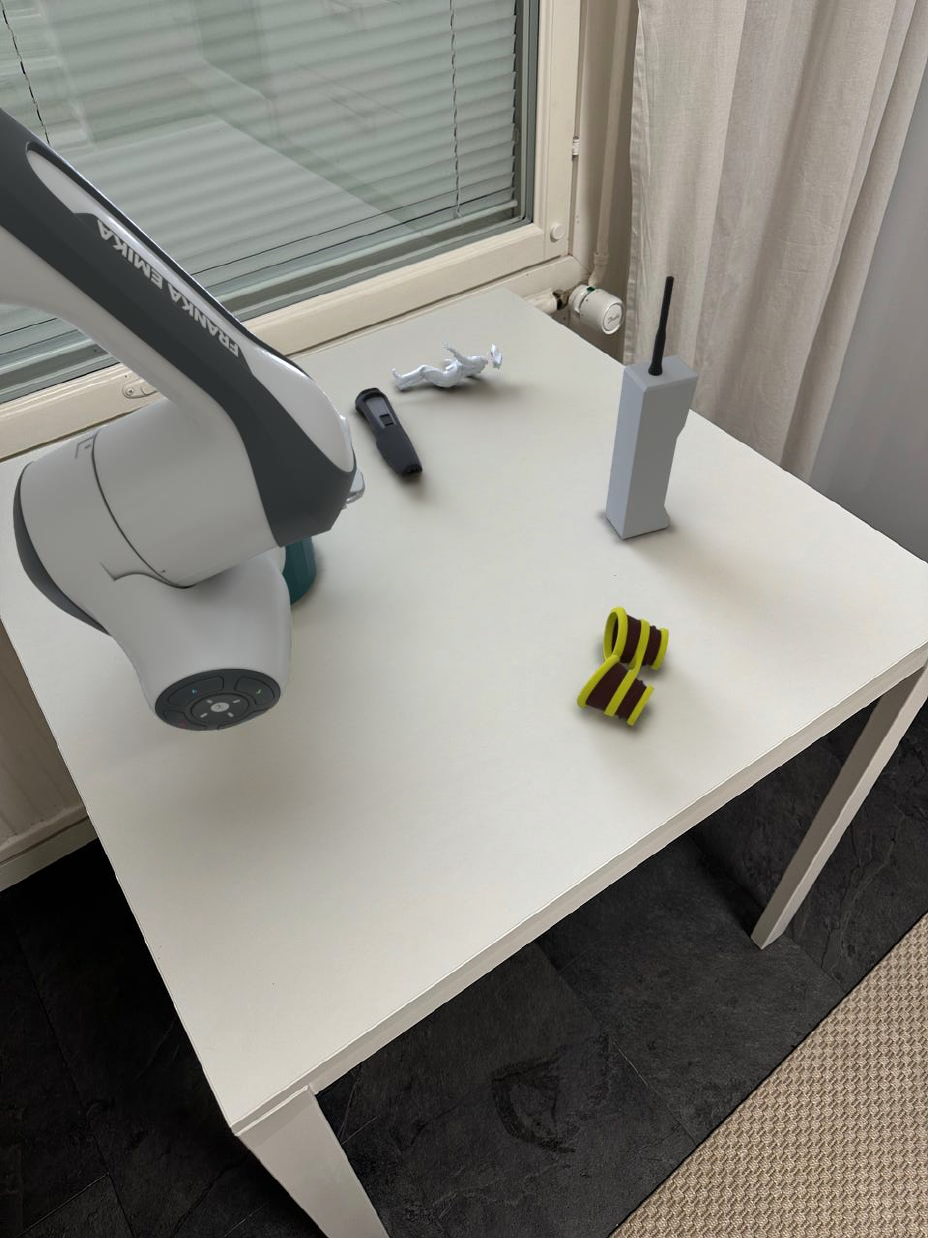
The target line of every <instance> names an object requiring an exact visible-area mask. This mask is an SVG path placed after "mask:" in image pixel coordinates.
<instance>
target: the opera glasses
mask: <svg viewBox="0 0 928 1238" xmlns="http://www.w3.org/2000/svg"><path fill="white" fill-rule="evenodd" d="M669 638H670V633H669V629H667V628H665V627H660V628H659V629H658V628H657V626H656V625H654V624H653V625H650V622H648V621H647V620H645V619H643V618H635V617H634V616H631V615H630V614H628V613H627V611H626V610H625V608H624V607H622V606H615V607H613V608H612V609H611V610H610V611H609V614H608V616H607V619H606V622H605V627H604V633H603V642H602V643H603V645H602V647H603V648H602V651H603V652H602V653H603V659H604V662H602V664H601V665H600V666H599V667H597V669H596V670H595V671H594V672H593V674H592V676H591V677H589V679H588V680H587V681H586V683H585V684H584V685H583V687H582V689H581V690H580V691H579V694H578V696H577V698H576V704H577V706H578V707H579V708H583V709H584V708H586V707H588V706H589V707H592V708H594V709H597V710H600V711H603V712H604V713H603V714H604V715H606V716H610V717H614V716H616V717H618V719H619V720H622V719H624V720H626V723H627V724H628V725H629V726H631V727H633V726H634V724H635V722H636V721H637V719H638V717H639V716H640V715H641V713H642V711H643V709H644V707H645V706H646V704H647V702H648V701H649V699H650V697H651V695H652V694H653V692H654V690H655V687H654V686H653V685H651V684H649V685H646V684H644V680H643V679H638V678H637V677H638V675H639V671H640V669H641V667H642V668H643V667H644V668H645V667H646V666H649V668H650V669H652V670H658V669H660V667H661V665H662V663H663V661H664V658H665V656H666V653H667V649H668V645H669ZM623 664H624V665H625V664H626V666H627V667H629V668H630V669H629V670H628V669H627V668H626V667H625V666H623Z"/></svg>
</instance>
